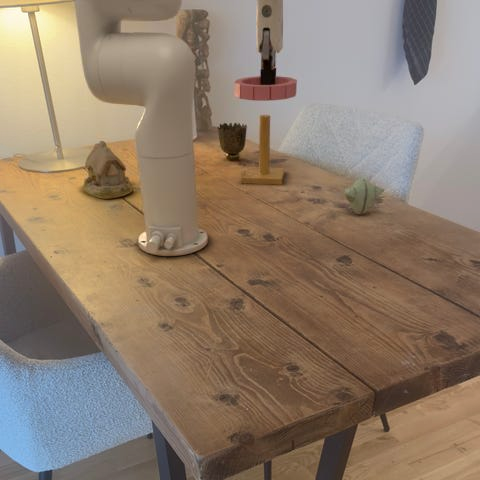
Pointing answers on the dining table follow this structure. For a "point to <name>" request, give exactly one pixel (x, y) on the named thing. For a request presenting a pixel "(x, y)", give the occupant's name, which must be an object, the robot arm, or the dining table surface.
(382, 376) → the dining table surface
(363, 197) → the green seashell
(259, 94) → the pink ring
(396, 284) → the dining table surface
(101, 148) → the ceramic model
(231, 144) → the cup
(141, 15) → the robot arm
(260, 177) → the stand
